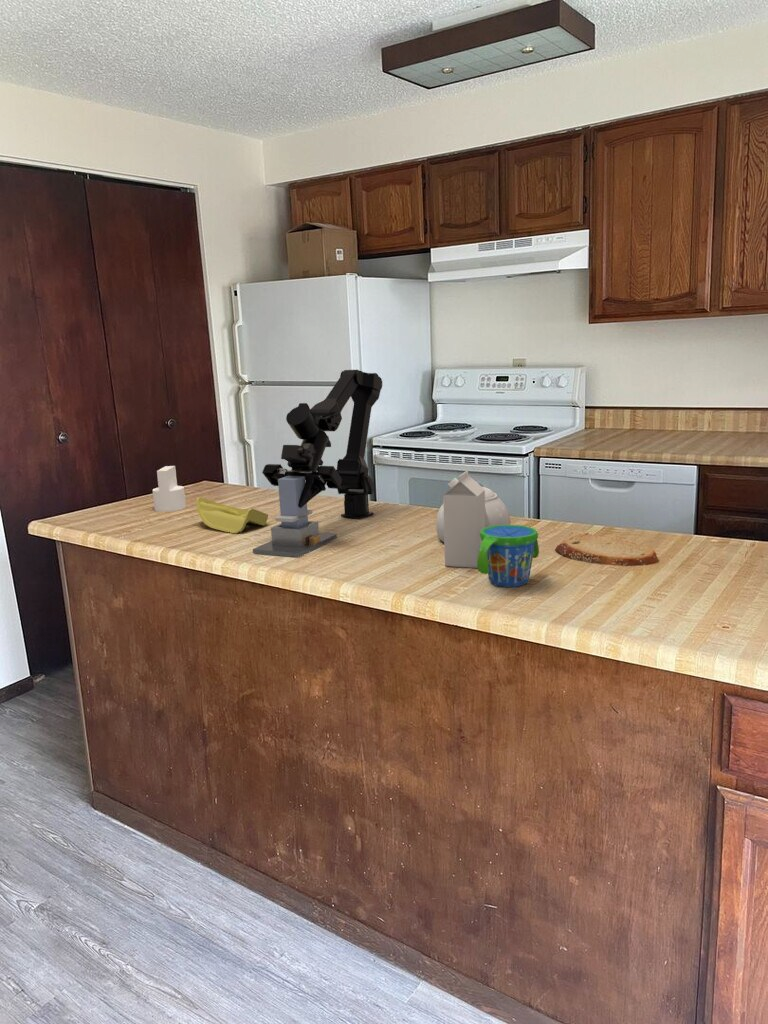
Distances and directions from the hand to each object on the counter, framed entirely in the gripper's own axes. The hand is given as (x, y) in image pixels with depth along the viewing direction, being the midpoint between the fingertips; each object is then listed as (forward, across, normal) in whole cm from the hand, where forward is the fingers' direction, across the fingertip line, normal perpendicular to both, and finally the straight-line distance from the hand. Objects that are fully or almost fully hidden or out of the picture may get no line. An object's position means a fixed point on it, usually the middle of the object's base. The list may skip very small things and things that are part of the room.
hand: (290, 506), depth 178 cm
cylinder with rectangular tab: (-13, -60, +27) cm, 67 cm away
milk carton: (+8, +42, +6) cm, 44 cm away
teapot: (-6, +38, +20) cm, 43 cm away
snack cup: (+15, +55, -1) cm, 57 cm away
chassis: (+6, 0, +8) cm, 10 cm away
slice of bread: (-2, +68, +16) cm, 70 cm away
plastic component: (-3, -28, +18) cm, 33 cm away
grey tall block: (+4, 0, +6) cm, 7 cm away
